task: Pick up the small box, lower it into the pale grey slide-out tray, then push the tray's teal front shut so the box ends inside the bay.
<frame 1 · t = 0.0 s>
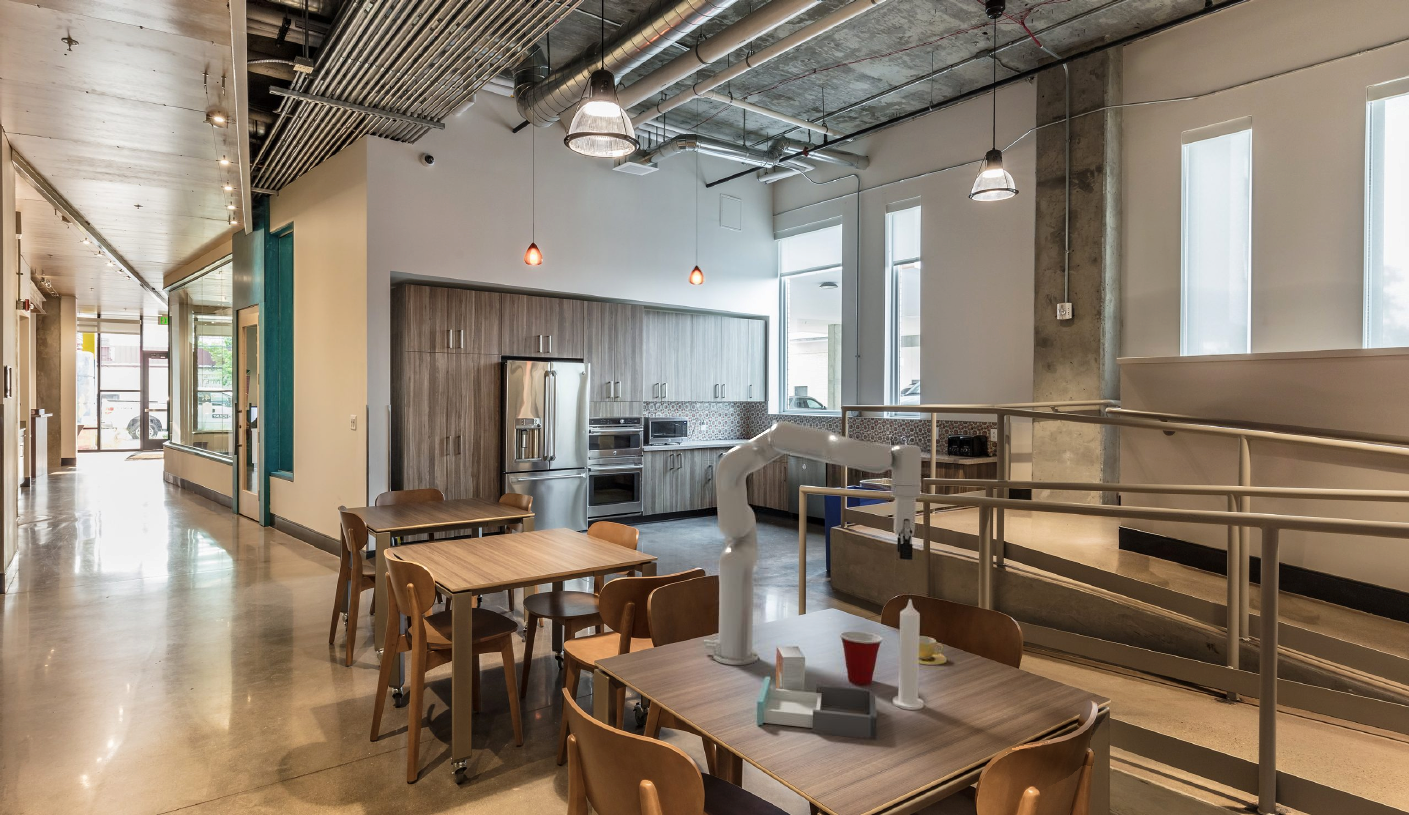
hand: (904, 555, 193), 31 cm above the table, fingers open, 9 cm apart
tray: (790, 702, 165), point 3 cm above the table, slide at 10.5 cm
bay: (843, 720, 163), on the table
plastic cup: (860, 681, 186), on the table
cup: (924, 659, 205), on the table
small box: (789, 694, 177), on the table
candle: (908, 704, 172), on the table
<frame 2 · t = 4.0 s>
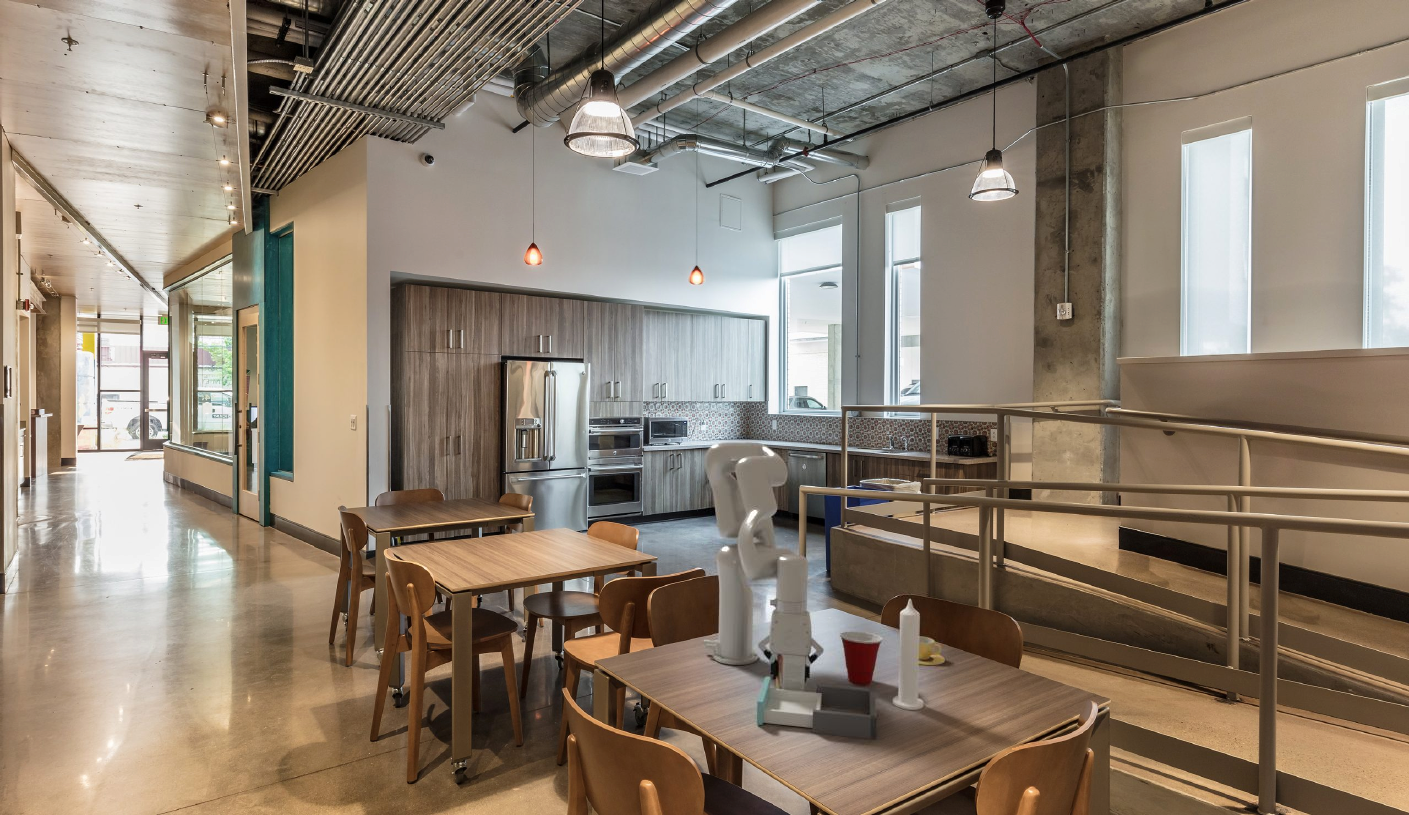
hand: (790, 678, 177), 4 cm above the table, fingers closed on small box, 6 cm apart
small box: (789, 694, 177), on the table, touching gripper
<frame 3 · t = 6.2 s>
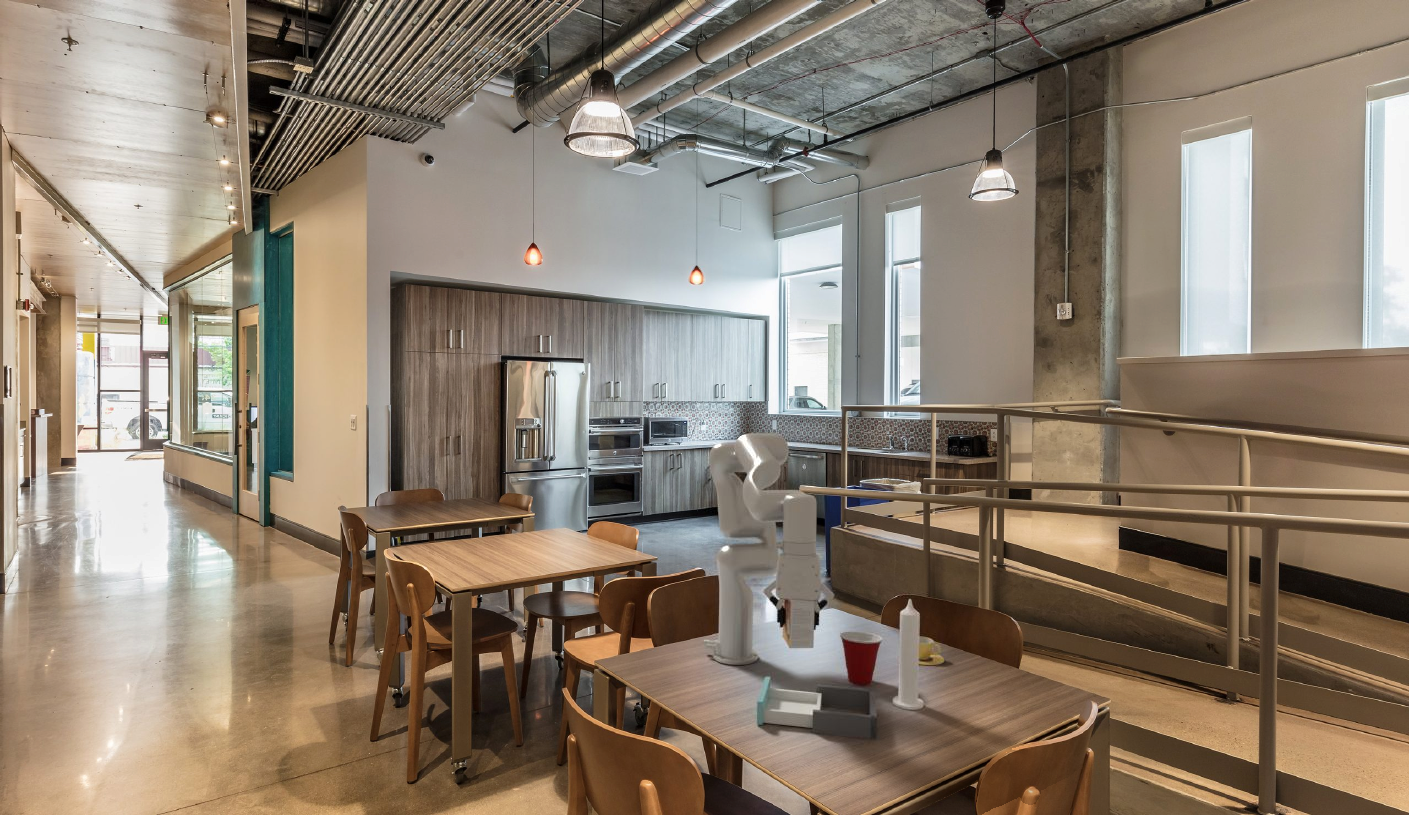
hand: (798, 626, 165), 20 cm above the table, fingers closed on small box, 6 cm apart
small box: (797, 643, 165), point 16 cm above the table, touching gripper
everything else where it was.
when the fingers open (6 cm above the table, at t = 8.3 s): small box drops 1 cm, resting on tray.
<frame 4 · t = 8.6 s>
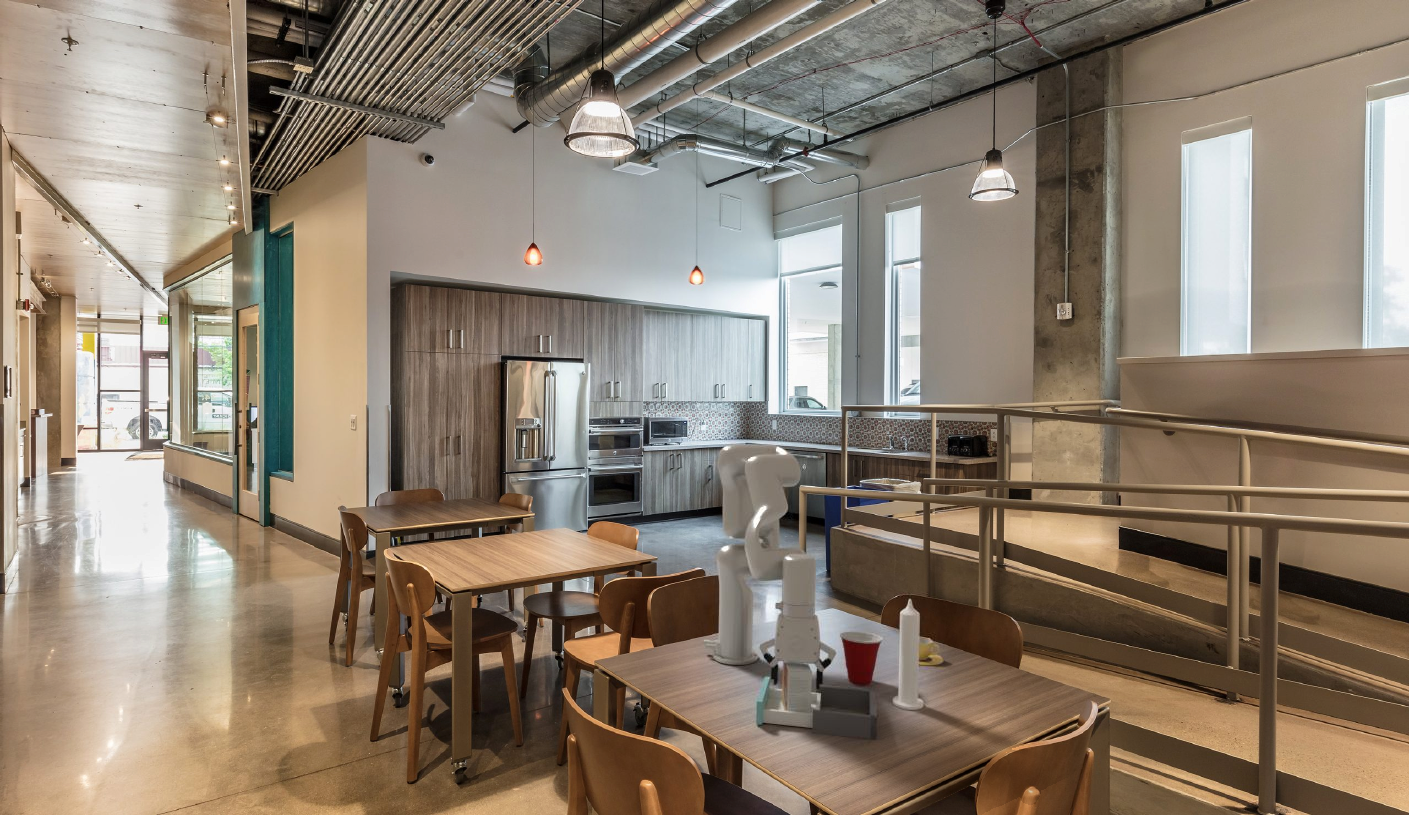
hand: (796, 684, 165), 7 cm above the table, fingers open, 9 cm apart
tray: (790, 702, 165), point 3 cm above the table, slide at 10.6 cm, touching small box
small box: (796, 710, 165), point 1 cm above the table, touching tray
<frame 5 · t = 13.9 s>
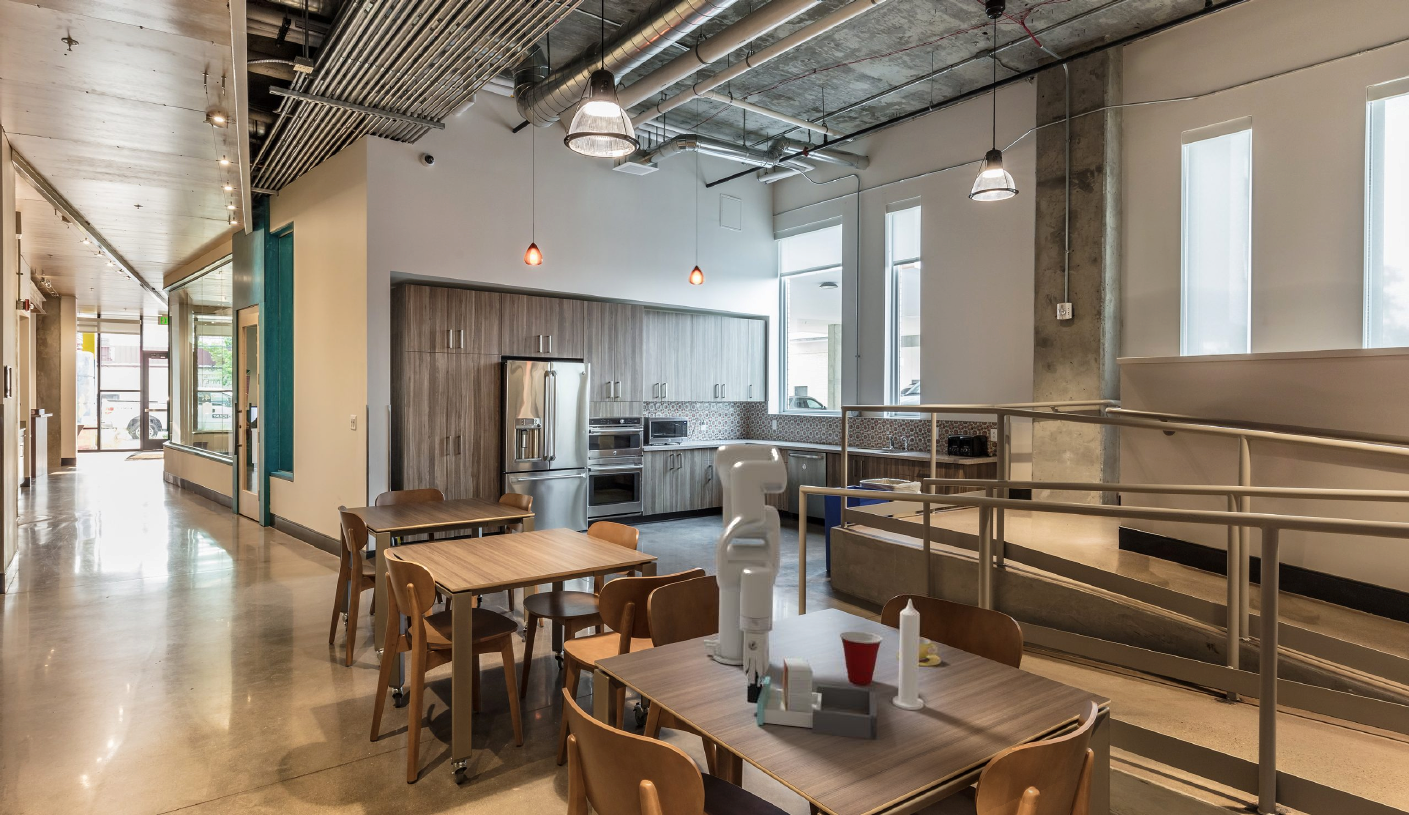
hand: (754, 701, 167), 2 cm above the table, fingers closed
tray: (790, 702, 165), point 3 cm above the table, slide at 10.5 cm, touching gripper, small box
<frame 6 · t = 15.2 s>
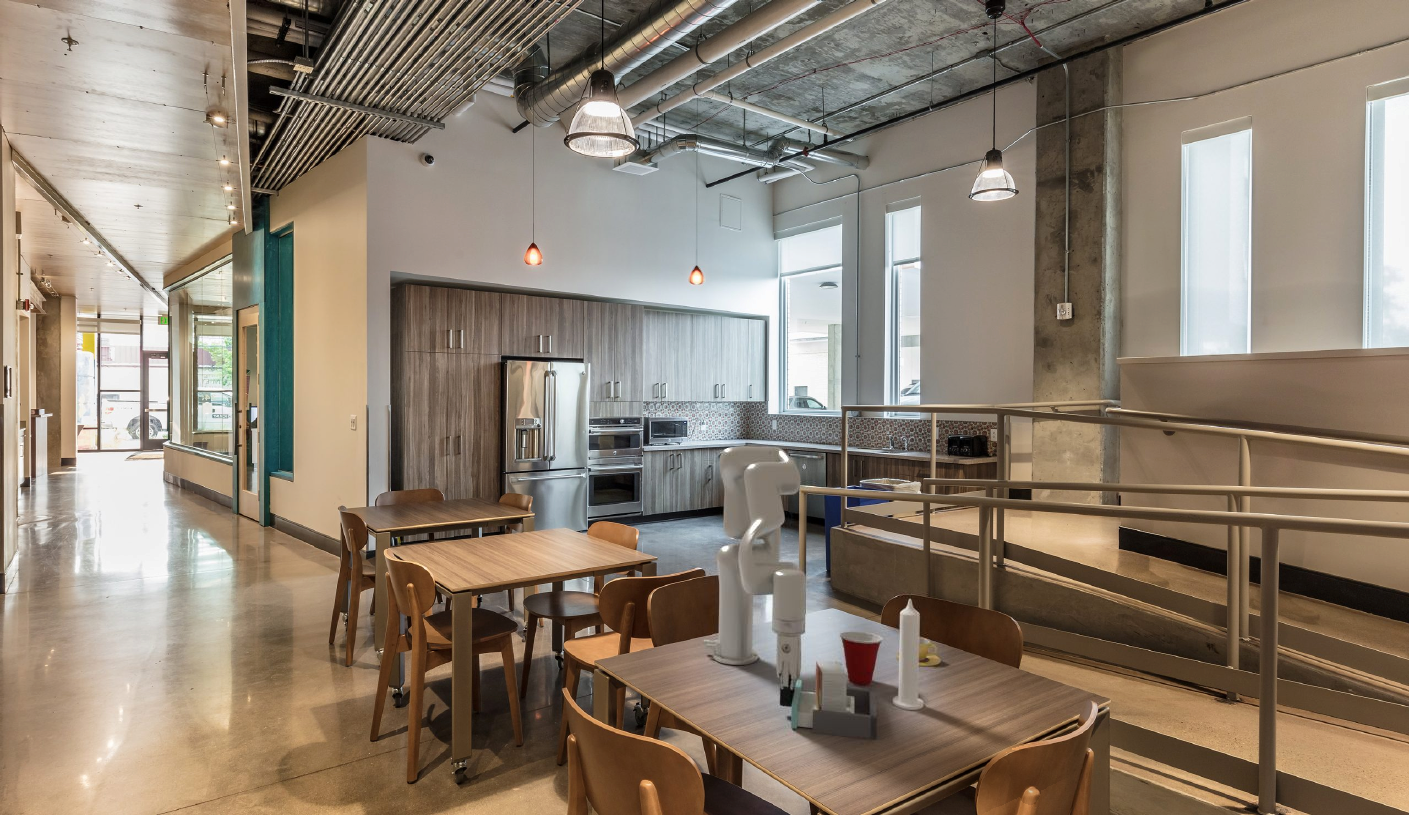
hand: (787, 704, 165), 2 cm above the table, fingers closed
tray: (824, 705, 164), point 3 cm above the table, slide at 3.0 cm, touching gripper, small box
small box: (830, 714, 163), point 1 cm above the table, touching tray
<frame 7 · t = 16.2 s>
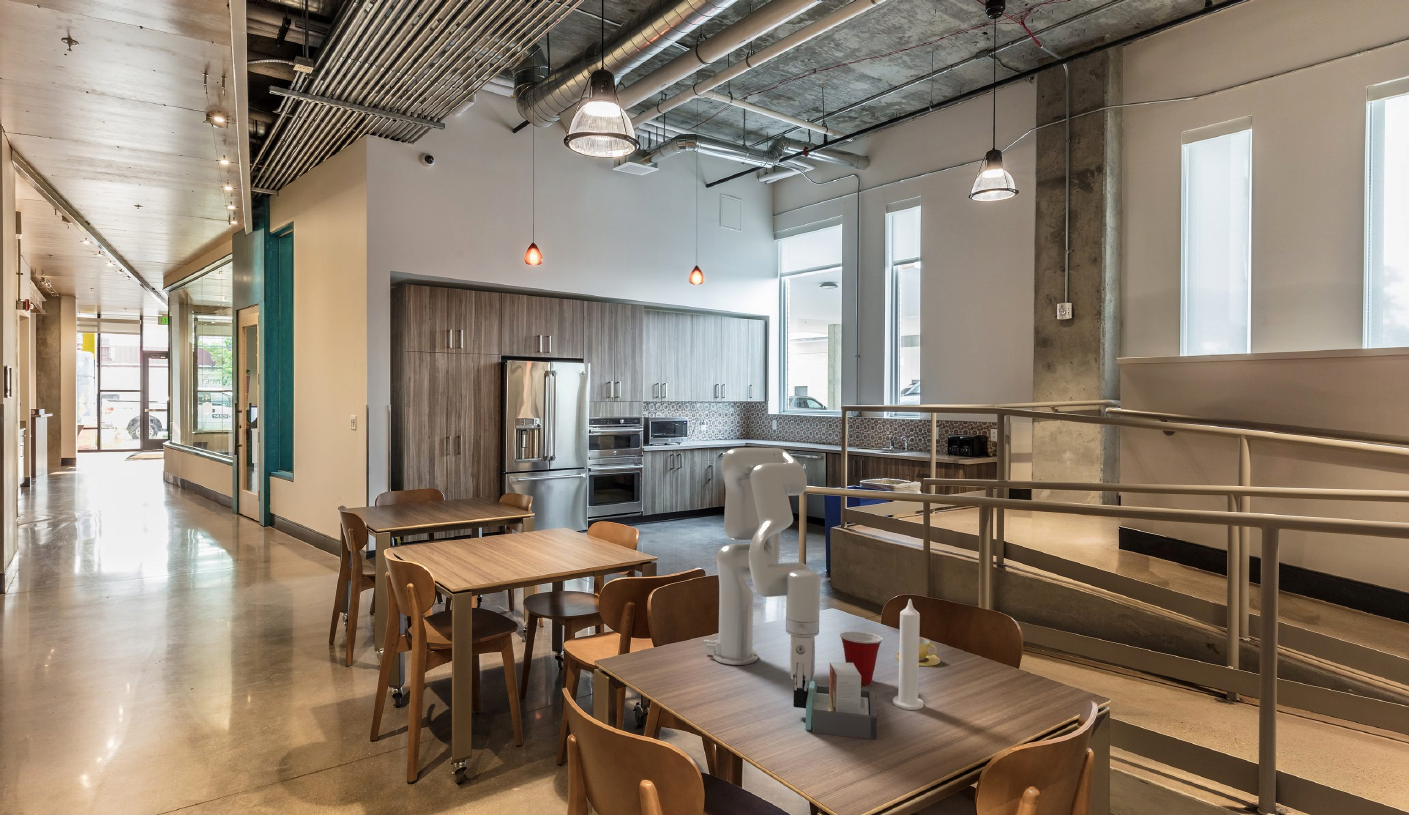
hand: (800, 706, 165), 2 cm above the table, fingers closed
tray: (837, 707, 163), point 3 cm above the table, slide at -0.1 cm, touching gripper, small box
small box: (844, 715, 163), point 1 cm above the table, touching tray
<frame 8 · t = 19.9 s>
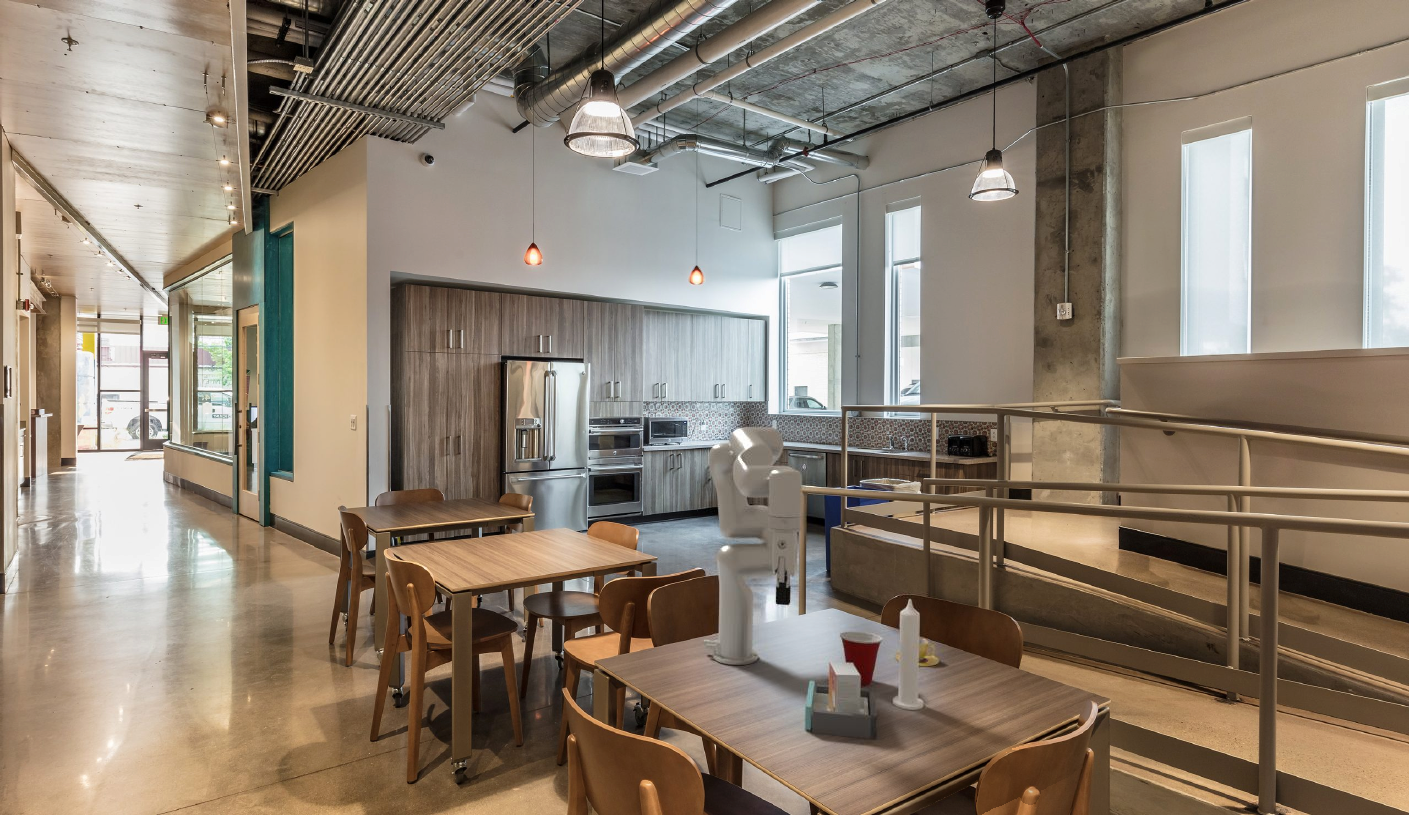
hand: (782, 603, 166), 25 cm above the table, fingers closed
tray: (837, 706, 163), point 3 cm above the table, slide at 0.0 cm, touching small box
at the end: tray slide at 0.0 cm; small box inside the target area on the bay (0.4 cm from its centre), point 0.9 cm above the bay's base; small box tilted 0° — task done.
